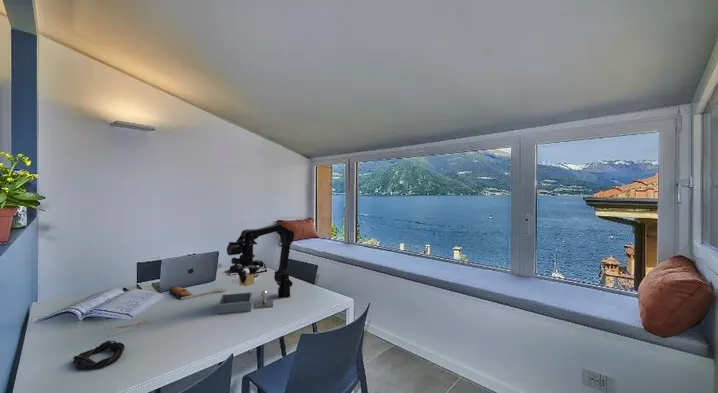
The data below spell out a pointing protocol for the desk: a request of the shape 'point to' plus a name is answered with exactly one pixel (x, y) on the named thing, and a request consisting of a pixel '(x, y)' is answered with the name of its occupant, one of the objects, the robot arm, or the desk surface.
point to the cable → (87, 363)
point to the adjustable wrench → (218, 290)
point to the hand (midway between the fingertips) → (246, 281)
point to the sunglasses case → (179, 292)
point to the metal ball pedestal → (264, 301)
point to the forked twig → (129, 325)
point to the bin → (235, 303)
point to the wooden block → (248, 279)
